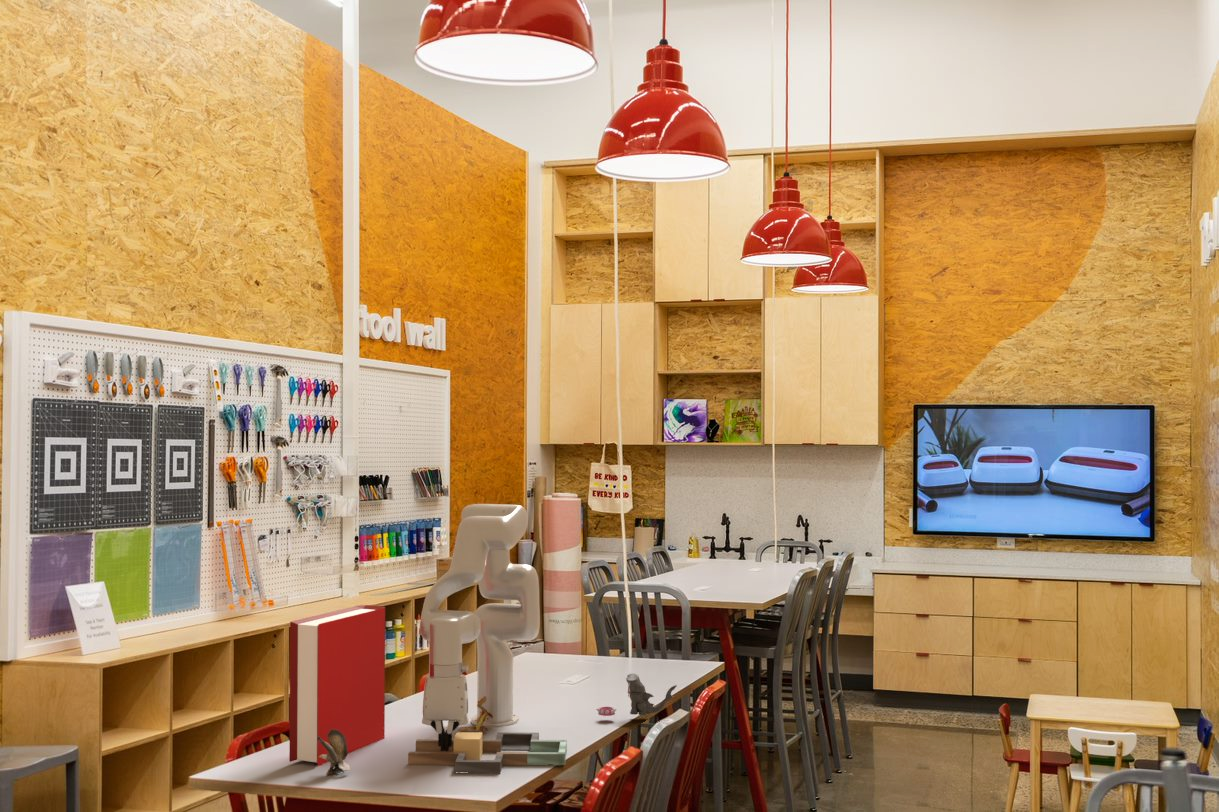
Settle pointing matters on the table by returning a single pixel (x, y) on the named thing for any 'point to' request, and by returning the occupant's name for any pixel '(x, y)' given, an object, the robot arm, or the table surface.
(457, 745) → the ochre block
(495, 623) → the robot arm
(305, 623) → the book
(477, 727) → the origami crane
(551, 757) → the trap channel
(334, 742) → the eagle figurine
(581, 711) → the table surface
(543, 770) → the table surface
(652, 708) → the grey and pink pieces
